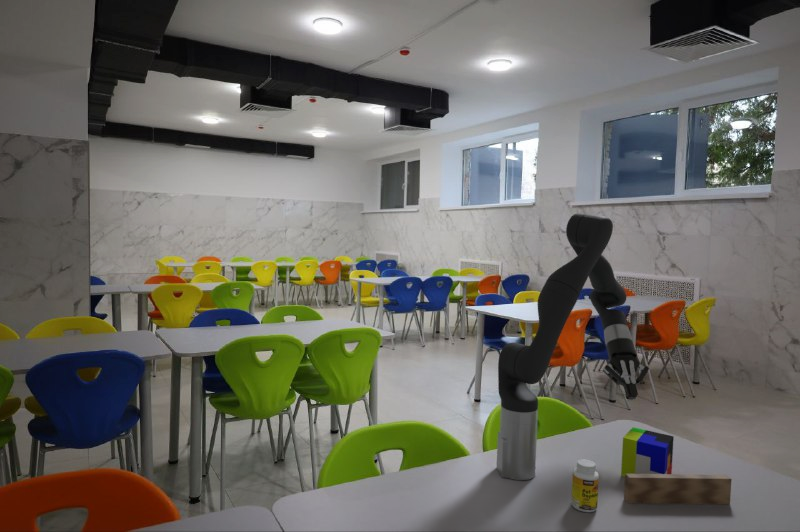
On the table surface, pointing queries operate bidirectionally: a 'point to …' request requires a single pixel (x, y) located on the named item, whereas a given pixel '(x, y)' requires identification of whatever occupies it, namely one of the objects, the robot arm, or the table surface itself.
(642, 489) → the board
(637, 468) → the puzzle toy
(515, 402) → the robot arm
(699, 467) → the table surface
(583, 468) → the supplement bottle
